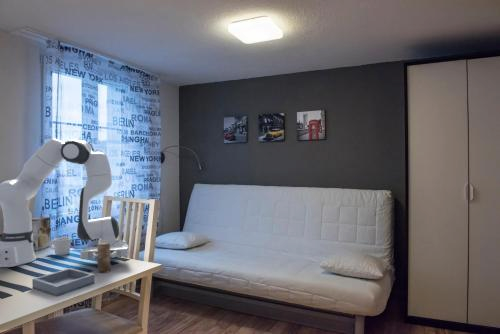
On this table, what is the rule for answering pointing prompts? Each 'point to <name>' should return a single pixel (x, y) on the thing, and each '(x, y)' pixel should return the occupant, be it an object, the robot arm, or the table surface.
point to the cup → (61, 245)
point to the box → (63, 281)
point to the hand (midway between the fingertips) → (103, 256)
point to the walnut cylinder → (103, 257)
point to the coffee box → (41, 232)
